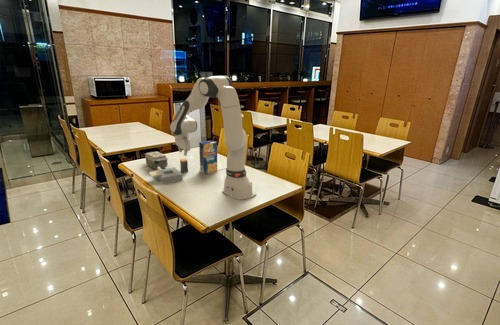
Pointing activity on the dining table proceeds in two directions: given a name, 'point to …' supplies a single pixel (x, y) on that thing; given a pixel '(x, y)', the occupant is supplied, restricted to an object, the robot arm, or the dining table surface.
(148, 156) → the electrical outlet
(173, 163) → the dining table surface
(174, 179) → the socket
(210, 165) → the blue cracker box
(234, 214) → the dining table surface
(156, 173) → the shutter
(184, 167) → the plug
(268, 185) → the dining table surface
